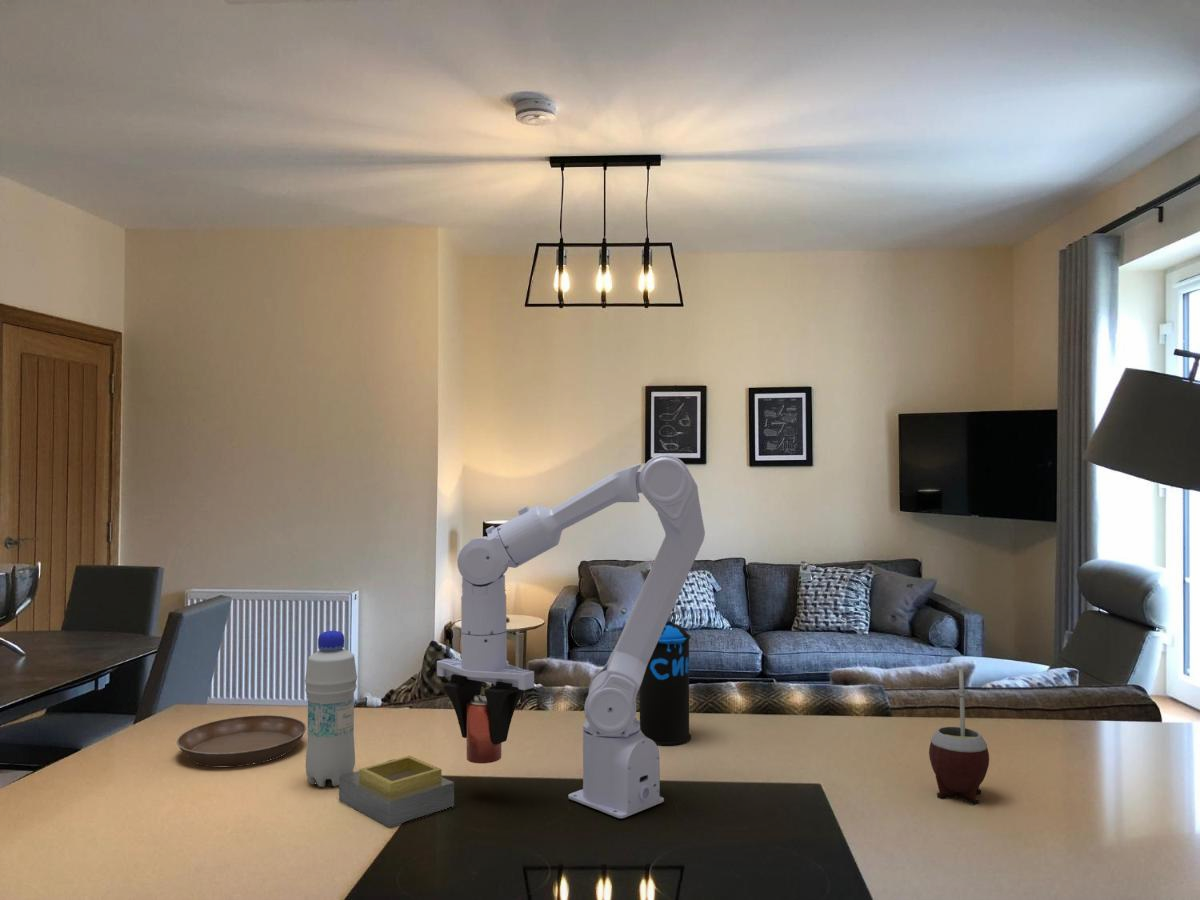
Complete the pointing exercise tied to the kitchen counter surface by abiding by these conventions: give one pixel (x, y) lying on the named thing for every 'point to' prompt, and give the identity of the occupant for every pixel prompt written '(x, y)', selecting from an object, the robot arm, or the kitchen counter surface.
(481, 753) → the red metal cylinder
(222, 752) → the plant saucer
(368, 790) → the grey socket block
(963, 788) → the mate gourd
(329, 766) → the bottle
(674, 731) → the aerosol can
